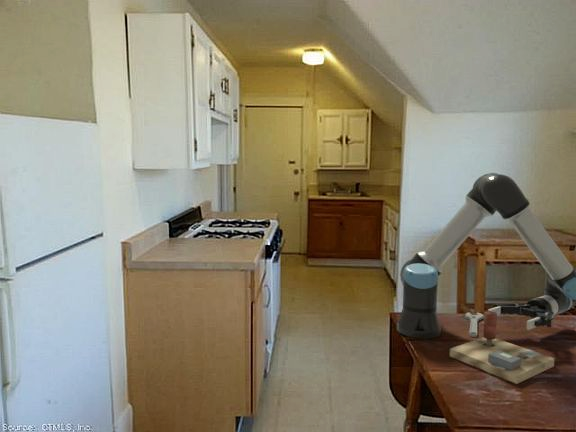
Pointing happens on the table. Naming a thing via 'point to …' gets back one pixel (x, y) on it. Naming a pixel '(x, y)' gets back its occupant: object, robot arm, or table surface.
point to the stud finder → (504, 360)
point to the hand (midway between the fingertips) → (507, 319)
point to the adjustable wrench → (473, 323)
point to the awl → (490, 327)
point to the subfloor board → (479, 352)
